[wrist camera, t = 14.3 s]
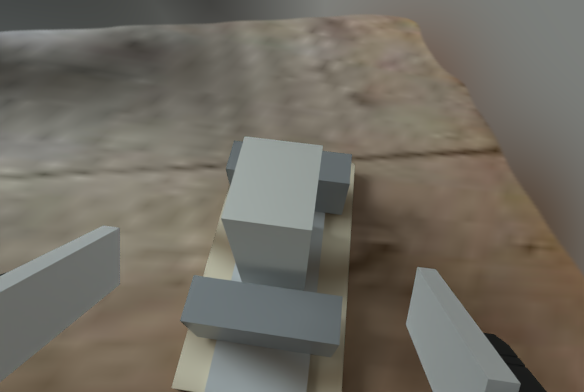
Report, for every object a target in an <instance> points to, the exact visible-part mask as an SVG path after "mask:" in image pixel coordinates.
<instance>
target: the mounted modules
mask: <svg viewBox="0 0 584 392" xmlns="http://www.w3.org/2000/svg"><path fill="white" fill-rule="evenodd" d="M242 144H243V142H241V141H234V143H233V147H232V150H231V153H230V157H229V160H228V163H227V166H226V172H227V176H228V180H229V184H230V185H231V182H232V178H233V175H234V171H235V168H236V164H237V161H238V157H239V154H240V151H241V147H242ZM351 159H352V154H344V153H335V152H327V151H322V156H321V164H320V172H319V180H318V187H317V195H316V203H315V212H323V213H331V214H338V215H342V212H343V208H344V204H345V200H346V197H347V193H348V189H349V185H350V174H351ZM342 298H343V296H336V295H329V294H322V293H315V292H308V291H301V290H294V289H287V288H280V287H273V286H266V285H259V284H252V283H245V282H238V281H231V280H224V279H217V278H210V277H203V276H196V275H194V276H193V280H192V283H191V286H190V290H189V293H188V296H187V300H186V303H185V306H184V310H183V313H182V316H181V320H180V321H181V322H182V323H183V324H184V325H185V326H186V327H187V328H188V329H189V330H190V331H192V332H193V333H194V334H195V335H196V336H197V337H202V338H208V339H215V340H221V341H228V342H234V343H241V344H247V345H254V346H260V347H267V348H273V349H280V350H286V351H293V352H299V353H306V354H312V355H319V356H325V357H331V356H332V355H333V354H334V352H335V351H336V349H337V348H338V346H339V344H340V328H341V313H342Z"/></svg>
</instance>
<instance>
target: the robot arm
mask: <svg viewBox="0 0 584 392" xmlns="http://www.w3.org/2000/svg"><path fill="white" fill-rule="evenodd" d="M118 285H120V228H117V227H110V226H102V227H99V228H97V229H95V230H93V231H91V232H89V233H87V234H85V235H83V236H81V237H79V238H77V239H75V240H73V241H71V242H69V243H67V244H65V245H63V246H61V247H59V248H57V249H54V250H52V251H50V252H48V253H46V254H44V255H42V256H40V257H38V258H36V259H34V260H32V261H30V262H28V263H26V264H24V265H22V266H20V267H18V268H16V269H14V270H12V271H9V272H7V273H3V274H1V275H0V382H1V381H2V380H3V379H5V378H6V377H7V376H8V375H9V374H11V373H12V372H13V371H14V370H16V369H17V368H18V367H19V366H20V365H22V364H23V363H24V362H25V361H27V360H28V359H29V358H30V357H32V356H33V355H34V354H35V353H36V352H38V351H39V350H40V349H41V348H43V347H44V346H45V345H46V344H47V343H49V342H50V341H51V340H52V339H54V338H55V337H56V336H57V335H58V334H60V333H61V332H62V331H63V330H65V329H66V328H67V327H68V326H69V325H71V324H72V323H73V322H74V321H76V320H77V319H78V318H79V317H80V316H82V315H83V314H84V313H85V312H87V311H88V310H89V309H90V308H91V307H93V306H94V305H95V304H96V303H98V302H99V301H100V300H101V299H103V298H104V297H105V296H106V295H107V294H109V293H110V292H111V291H112V290H114V289H115V288H116V287H117V286H118ZM406 326H407V329H408V331H409V334H410V336H411V339H412V341H413V344H414V346H415V349H416V351H417V354H418V356H419V359H420V361H421V364H422V366H423V369H424V371H425V374H426V376H427V379H428V381H429V384H430V386H431V389H432V391H433V392H546V391H545V389H544V388H543V387H542V386H541V384H540V383H539V382H538V381H537V380H536V378H535V377H534V376H533V375H532V373H531V372H530V371H529V370H528V369H527V368H525V365H524V364H523V362H522V361H521V360H520V359H519V358H517V355H516V354H515V353H514V351H513V350H512V349H511V348H510V346H509V345H508V344H506V343H505V342H504V341H502V340H501V339H500V338H498V337H497V336H496V335H494V334H487V333H483V332H482V331H481V330H480V328H479V327H478V326H477V324H476V323H475V321H474V320H473V319H472V317H471V316H470V315H469V313H468V312H467V311H466V309H465V308H464V307H463V305H462V304H461V303H460V301H459V300H458V299H457V297H456V296H455V295H454V293H453V292H452V290H451V289H450V288H449V286H448V285H447V284H446V282H445V281H444V280H443V278H442V277H441V276H440V274H439V273H438V272H437V270H436V269H430V268H422V267H417V271H416V276H415V281H414V286H413V291H412V296H411V302H410V307H409V312H408V317H407V322H406Z"/></svg>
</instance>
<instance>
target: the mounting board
mask: <svg viewBox="0 0 584 392" xmlns="http://www.w3.org/2000/svg"><path fill="white" fill-rule="evenodd" d="M354 170H355V164H352V163H351V174H350V185H349V189H348V193H347V197H346V200H345V204H344V208H343V212H342V215H338V214H331V213H323V212H315V211H314V219H313V226H312V234H311V242H310V249H309V257H308V265H307V272H306V280H305V288H304V291H308V292H315V293H322V294H329V295H336V296H343V298H342V313H341V328H340V344H339V346H338V348H337V349H336V351H335V352H334V354H333V355H332V356H331V357H325V356H319V355H312V354H306V353H299V352H293V351H286V350H280V349H273V348H267V347H260V346H254V345H247V344H241V343H234V342H228V341H221V340H215V339H208V338H202V337H197V336H196V335H195V334H194V333H193V332H192V331H190V330H189V329H188V332H187V335H186V339H185V342H184V346H183V349H182V353H181V356H180V360H179V363H178V367H177V370H176V374H175V377H174V381H173V384H172V388H173V389H177V390H183V391H189V392H342V378H343V361H344V343H345V326H346V309H347V291H348V274H349V257H350V239H351V222H352V205H353V187H354ZM229 189H230V184H229V188H228V191H227V195H226V198H225V202H224V205H223V209H222V212H221V216H220V219H219V223H218V226H217V230H216V233H215V237H214V240H213V244H212V247H211V251H210V254H209V258H208V261H207V265H206V268H205V272H204V275H203V277H210V278H217V279H224V280H231V281H238V282H242V281H241V278H240V275H239V272H238V269H237V266H236V263H235V260H234V256H233V253H232V250H231V247H230V244H229V241H228V238H227V235H226V232H225V229H224V226H223V223H222V220H221V217H222V213H223V210H224V206H225V203H226V199H227V196H228V192H229Z"/></svg>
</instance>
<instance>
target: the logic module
mask: <svg viewBox="0 0 584 392" xmlns="http://www.w3.org/2000/svg"><path fill="white" fill-rule="evenodd" d="M322 148H323V146H322V145H314V144H305V143H297V142H288V141H280V140H272V139H263V138H255V137H246V136H245V137H244V140H243V144H242V147H241V151H240V154H239V157H238V161H237V164H236V168H235V171H234V175H233V178H232V182H231V185H230V189H229V192H228V196H227V199H226V203H225V206H224V210H223V213H222V217H221V220H222V223H223V226H224V229H225V232H226V235H227V238H228V241H229V244H230V247H231V250H232V253H233V256H234V260H235V263H236V266H237V269H238V272H239V275H240V278H241V281H242V282H245V283H252V284H259V285H266V286H273V287H280V288H287V289H294V290H301V291H304V288H305V280H306V272H307V265H308V257H309V249H310V242H311V234H312V226H313V219H314V211H315V203H316V195H317V187H318V180H319V172H320V164H321V156H322Z"/></svg>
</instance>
